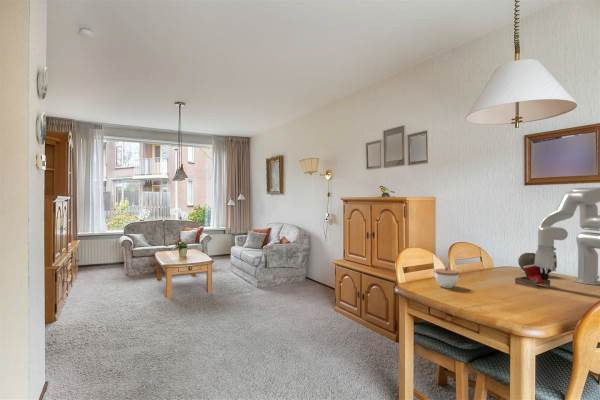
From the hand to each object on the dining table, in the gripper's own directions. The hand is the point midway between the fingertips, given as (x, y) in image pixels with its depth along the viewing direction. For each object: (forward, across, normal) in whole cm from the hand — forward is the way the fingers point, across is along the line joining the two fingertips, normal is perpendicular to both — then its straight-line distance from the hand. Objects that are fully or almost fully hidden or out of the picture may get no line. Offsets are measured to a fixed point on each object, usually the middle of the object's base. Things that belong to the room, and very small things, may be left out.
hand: (544, 279), depth 193 cm
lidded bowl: (+6, +25, +52) cm, 58 cm away
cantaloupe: (+4, +24, -30) cm, 39 cm away
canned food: (+4, +4, 0) cm, 5 cm away
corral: (+5, +6, -1) cm, 8 cm away
